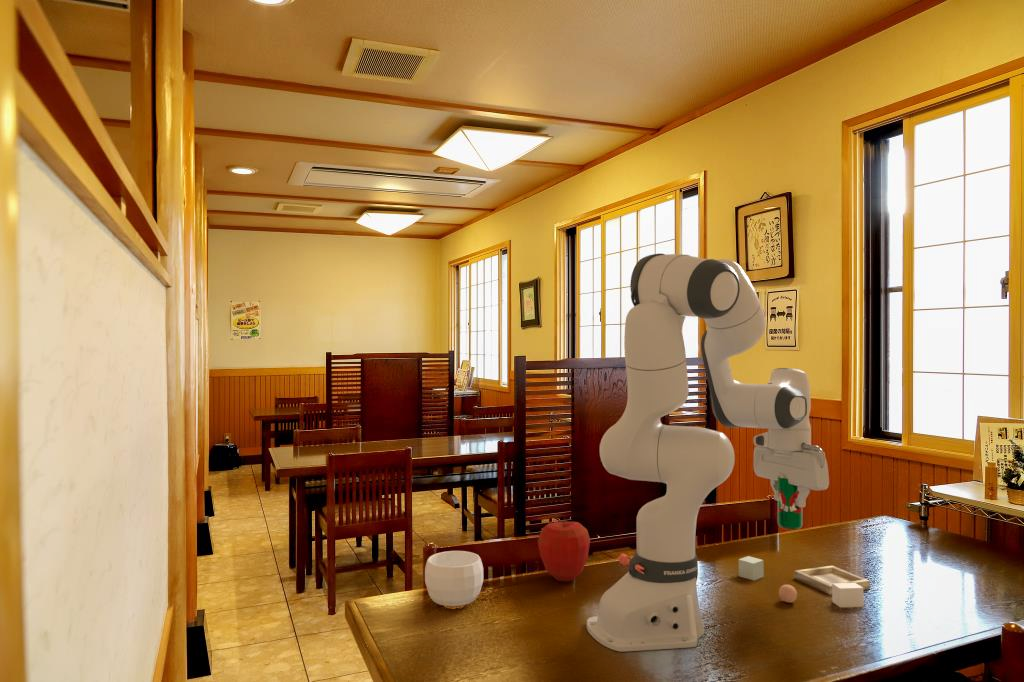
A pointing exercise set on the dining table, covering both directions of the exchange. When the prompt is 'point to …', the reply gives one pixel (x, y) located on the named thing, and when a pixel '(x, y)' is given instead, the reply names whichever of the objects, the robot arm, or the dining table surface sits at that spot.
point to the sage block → (751, 568)
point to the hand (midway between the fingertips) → (789, 503)
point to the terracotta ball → (787, 593)
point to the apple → (564, 549)
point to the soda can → (788, 504)
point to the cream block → (847, 594)
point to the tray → (828, 578)
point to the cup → (454, 577)
